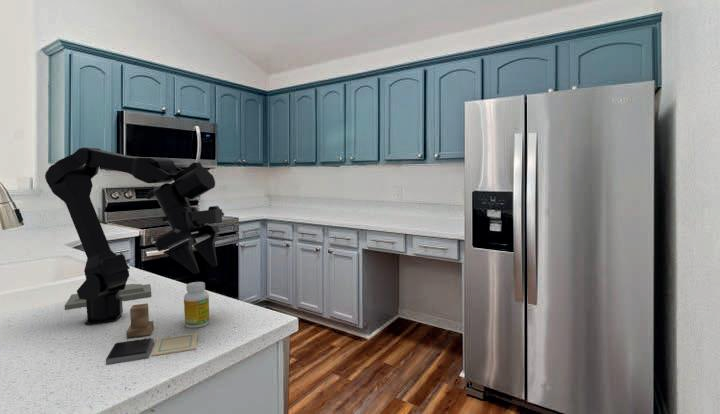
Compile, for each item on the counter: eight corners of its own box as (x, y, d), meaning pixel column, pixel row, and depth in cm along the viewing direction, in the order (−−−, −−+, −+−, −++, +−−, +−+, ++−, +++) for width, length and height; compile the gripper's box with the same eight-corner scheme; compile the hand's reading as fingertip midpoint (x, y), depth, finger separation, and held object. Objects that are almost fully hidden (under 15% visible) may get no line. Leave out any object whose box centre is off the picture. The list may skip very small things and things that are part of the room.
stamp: (127, 339, 81) (125, 311, 81) (131, 331, 86) (129, 304, 85) (150, 336, 83) (148, 308, 82) (153, 328, 87) (152, 301, 87)
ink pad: (106, 364, 70) (105, 357, 70) (115, 348, 77) (114, 342, 77) (148, 357, 73) (147, 351, 73) (153, 342, 79) (153, 336, 79)
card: (151, 356, 74) (151, 354, 74) (157, 339, 81) (157, 337, 81) (196, 349, 76) (195, 347, 76) (197, 333, 84) (197, 332, 84)
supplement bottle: (200, 329, 86) (198, 288, 85) (179, 327, 87) (177, 286, 87) (214, 320, 92) (212, 281, 91) (194, 318, 93) (192, 280, 92)
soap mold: (71, 301, 108) (70, 289, 107) (150, 289, 118) (150, 278, 117) (64, 312, 99) (63, 299, 98) (151, 299, 109) (151, 287, 108)
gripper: (186, 191, 76) (220, 260, 76) (224, 193, 95) (251, 249, 95) (139, 215, 77) (172, 284, 77) (185, 213, 95) (212, 268, 95)
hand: (206, 269), depth 86 cm, fingers open, 9 cm apart
